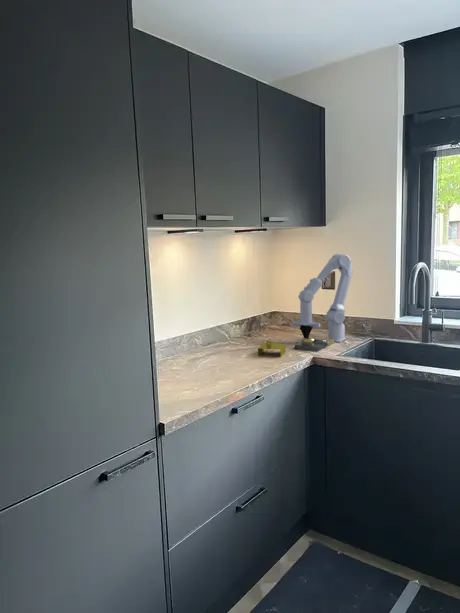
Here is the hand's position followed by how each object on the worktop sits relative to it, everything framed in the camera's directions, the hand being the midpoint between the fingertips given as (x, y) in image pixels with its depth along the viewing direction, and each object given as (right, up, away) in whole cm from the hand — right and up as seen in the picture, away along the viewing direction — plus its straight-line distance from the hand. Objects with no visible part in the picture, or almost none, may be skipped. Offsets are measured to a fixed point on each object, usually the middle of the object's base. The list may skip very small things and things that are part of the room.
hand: (306, 340), depth 232 cm
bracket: (-19, -5, -21) cm, 28 cm away
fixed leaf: (+1, -3, -13) cm, 13 cm away
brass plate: (+4, -1, -5) cm, 7 cm away
